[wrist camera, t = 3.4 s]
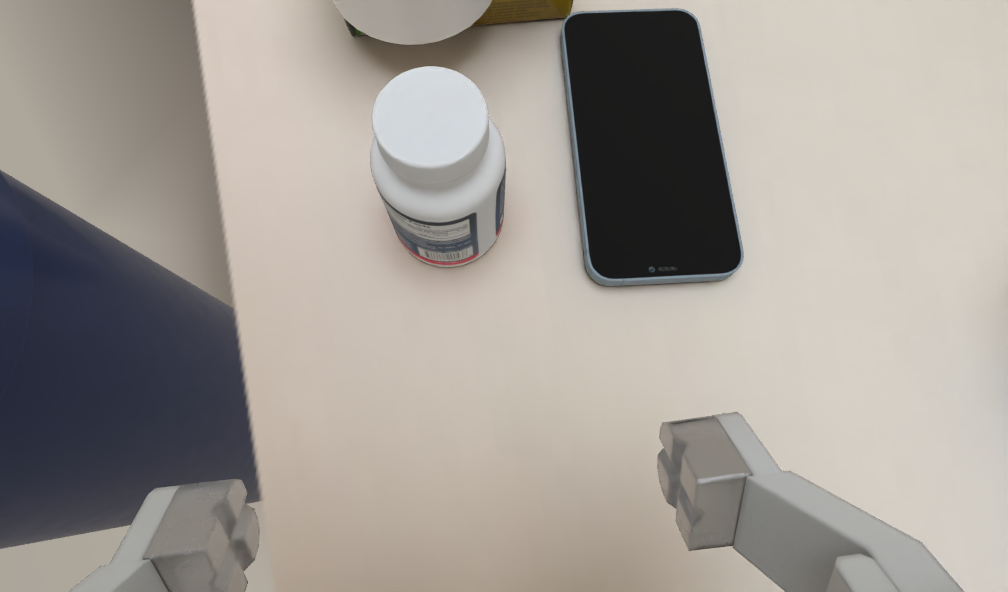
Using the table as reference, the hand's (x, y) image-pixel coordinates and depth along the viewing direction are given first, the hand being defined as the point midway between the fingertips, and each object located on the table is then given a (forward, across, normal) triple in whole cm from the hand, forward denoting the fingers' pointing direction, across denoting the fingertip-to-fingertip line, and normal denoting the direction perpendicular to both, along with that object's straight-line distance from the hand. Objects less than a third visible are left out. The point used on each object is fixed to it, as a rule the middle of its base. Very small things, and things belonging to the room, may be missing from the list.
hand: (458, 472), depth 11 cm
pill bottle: (+18, 0, +2) cm, 19 cm away
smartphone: (+20, -10, 0) cm, 23 cm away
